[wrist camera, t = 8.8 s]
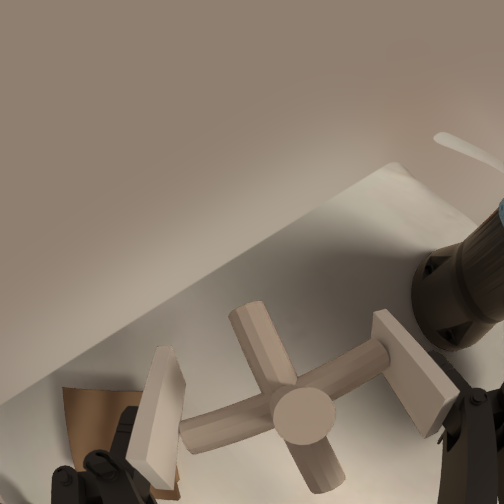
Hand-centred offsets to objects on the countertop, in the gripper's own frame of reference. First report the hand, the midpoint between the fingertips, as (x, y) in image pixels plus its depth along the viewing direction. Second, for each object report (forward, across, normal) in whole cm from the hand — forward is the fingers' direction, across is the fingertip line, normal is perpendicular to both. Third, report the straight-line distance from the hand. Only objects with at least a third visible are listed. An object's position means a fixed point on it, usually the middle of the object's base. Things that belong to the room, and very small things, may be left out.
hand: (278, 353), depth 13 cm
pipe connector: (+1, 0, -5) cm, 5 cm away
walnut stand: (+8, -18, -19) cm, 27 cm away
